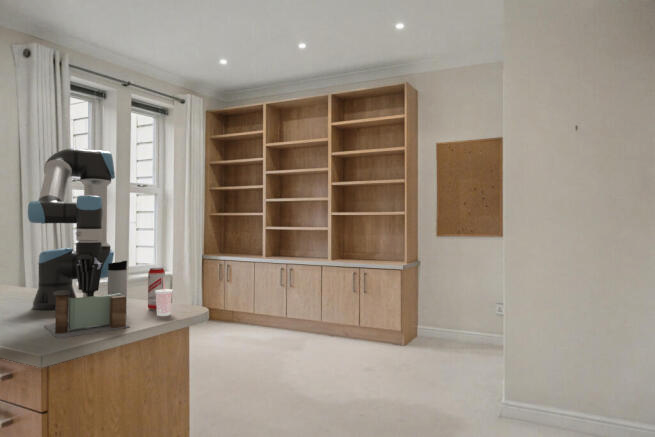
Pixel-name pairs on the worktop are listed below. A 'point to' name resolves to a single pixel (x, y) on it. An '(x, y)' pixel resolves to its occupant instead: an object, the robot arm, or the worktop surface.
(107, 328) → the base mat
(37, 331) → the worktop surface
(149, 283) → the beer can
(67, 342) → the worktop surface
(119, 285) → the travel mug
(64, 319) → the hinge post
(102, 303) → the gate
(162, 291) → the beverage cup
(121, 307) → the stile
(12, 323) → the worktop surface
